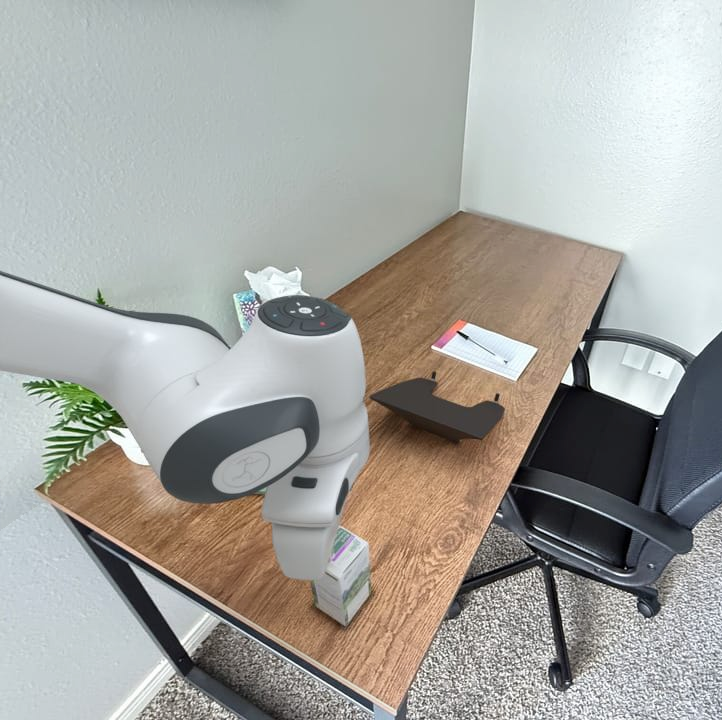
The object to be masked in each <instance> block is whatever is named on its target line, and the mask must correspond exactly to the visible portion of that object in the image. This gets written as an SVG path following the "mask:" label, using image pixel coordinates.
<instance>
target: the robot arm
mask: <svg viewBox="0 0 722 720" xmlns="http://www.w3.org/2000/svg"><path fill="white" fill-rule="evenodd" d="M255 311H256V312H255V314H254V316H253V319H252V322H251V323H250V325H249V327H248V328H247V330H246V331H245V332H244V333H243V335H242V336H241V337H240V338H239V339H238V340H237V341H236V343H235V344H234V345H233V346H231V347H230V345H228V343H227V341H226V340H225V339H224V337H223V336H222V335H221V334H220V333H219V331H218V330H217V329H215V327H213V326H212V325H211V324H209V323H207V322H205V321H204V320H201V319H199V318H197V317H193V316H190V315H185V314H180V313H179V314H178V313H170V312H144V311H134V310H133V311H132V310H126V309H119V308H116V307H112V306H108V305H104V304H101V303H99V302H95V301H92V300H89V299H85V298H83V297H80V296H77V295H74V294H71V293H68V292H65V291H62V290H59V289H56V288H53V287H50V286H48V285H44V284H41V283H38V282H35V281H32V280H29V279H27V278H23V277H20V276H17V275H14V274H12V273H8V272H6V271H2V270H0V372H7V373H12V374H18V375H25V376H29V377H34V378H35V377H36V378H41V379H47V380H54V381H59V382H65V383H70V384H74V385H75V384H76V385H78V386H81V387H83V388H86V389H88V390H90V391H91V392H93V393H95V394H96V395H97V396H98V397H100V398H101V399H103V400H104V402H106V403H107V404H108V405H109V406H111V408H112V409H114V411H116V413H117V414H118V415H119V416H120V418H121V419H122V421H123V423H124V424H125V425H126V427H127V429H128V431H129V432H130V434H131V435H132V437H133V439H134V441H135V442H136V444H137V445H138V448H139V449H140V451H141V454H143V456H144V459H145V460H146V462H147V463H148V464H149V465H148V466H150V468H151V470H152V471H153V473H154V474H155V476H156V477H157V479H158V480H159V481H160V483H161V485H162V487H163V489H164V490H165V492H166V493H167V494H169V495H170V496H172V497H173V498H175V499H177V500H179V501H182V502H185V503H190V504H197V505H198V504H200V505H212V504H221V503H228V502H232V501H236V500H239V499H242V498H246V497H248V496H252V495H254V494H253V493H256V492H258V491H260V490H262V489H264V488H266V487H267V489H266V492H265V495H263V499H262V504H261V507H260V510H261V511H260V512H261V517H262V520H263V521H264V522H267V523H272V526H271V541H272V547H273V549H274V553H275V556H276V559H277V562H278V565H279V568H280V571H281V573H282V574H283V575H284V577H286V578H288V579H292V580H299V581H309V582H310V581H312V580H319V579H320V578H322V577H323V576H324V574H325V571H326V568H327V564H328V563H329V562H331V559H332V555H333V552H334V545H333V544H334V541H335V538H336V534H337V531H338V528H339V525H341V521H342V519H343V514H344V511H345V507H346V504H347V502H348V497H349V494H350V492H351V491H352V490H353V488H354V485H355V483H356V482H355V481H356V480H357V477H358V475H359V473H360V471H362V469H363V468H364V467H365V465H366V464H367V462H368V460H369V457H370V453H371V444H370V442H371V441H370V426H369V424H370V423H369V414H368V413H369V412H368V409H367V407H366V403H365V401H364V399H365V395H366V391H367V390H366V389H367V376H366V367H365V365H366V364H365V357H364V351H363V347H362V342H361V338H360V334H359V331H358V328H357V326H356V323H355V321H354V319H353V318H352V317H351V316H350V314H348V312H346V310H344V309H342V308H341V307H339V306H338V305H336V303H333V302H331V301H329V300H326V299H324V298H319V297H315V296H310V295H303V294H291V295H283V296H278V297H275V298H271V299H269V300H267V301H265V302H263V303H262V304H261V305H259V307H258V308H257V309H256V310H255Z"/></svg>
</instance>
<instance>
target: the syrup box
mask: <svg viewBox="0 0 722 720" xmlns="http://www.w3.org/2000/svg"><path fill="white" fill-rule="evenodd" d="M333 545H334V552H333V555H332V559H331V562H329V563H328V564H327V568H326V571H325V574H324V576H323V577H322V578H320V579H319V580H312V581H310V580H309V583H310V588H311V593H312V597H313V602H314V606H315V607H316V608H317V609H319V610H320V611H322V612H323V613H325V614H326V615H328V616H329V617H330V618H332V619H334V620H335V621H337V622H338V623H339V624H341V625H342V626H344V627H347V626H348V625H349V624H350V622H351V621H352V620H353V618H354V617H355V615H356V614H357V613H358V612H359V610H360V609H361V607H362V606H363V605H364V603H365V602H366V601H367V599H368V598H369V597H370V595H371V594H372V584H371V561H370V560H371V559H370V558H371V557H370V543H369V542H368V541H366V540H365V539H363V538H362V537H360V536H359V535H357V534H355V533H354V532H352V531H350V530H349V529H347V528H346V527H344V526H342V525H341V524H339V528H338V531H337V534H336V538H335V541H334V544H333Z"/></svg>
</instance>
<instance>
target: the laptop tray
mask: <svg viewBox="0 0 722 720" xmlns="http://www.w3.org/2000/svg"><path fill="white" fill-rule="evenodd" d="M436 376H437V371H435V370H433V371H432V373H431V376H430V379H429V378H424V377H415V378H412V379H408V380H405V381H401V382H398V383H396V384H394V385H391V386H387V387H386V388H383V389H381V390H379V391H377V392H374V393H373V394H371V395H369V400H372V401H373V402H375V403H377V404H379V405H381V406H382V407H384V408H385V409H387V410H389V411H391V412H393V413H394V414H395V415H397V416H399V417H400V418H401V419H403V420H404V421H405V422H407V423H408V424H409V425H410V426H411V427H413V428H415V429H416V430H420V431H422V432H424V433H427V434H430V435H433V436H436V437H438V438H441V439H443V440H446V441H448V442H451V443H453V444H460V442H461V441H463V440H474V441H475V440H476V441H483V439H484V438H485V437H486V436H487V435H489V434H490V432H492V430H493V429H495V427H496V426H497V425H498V423H499V422H500V421H501V419H502V417H503V415H504V413H505V411H506V408H505V407H504V406H503V405H502V404H500V403H498V402H499V399H500V395H501V394H500V393H498V392H497V393H495V395H494V399H493V401H492V400H484V401H481V402H479V403H476V404H474V405H473V406H465V405H462V404H458V403H456V402H453V401H450V400H448V399H444V398H442V397H439V396H437V395H434V394H432V391H434V390H435V389H436V388H437V386H438V385H439V383H438V382H437V381H435V379H436Z"/></svg>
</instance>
